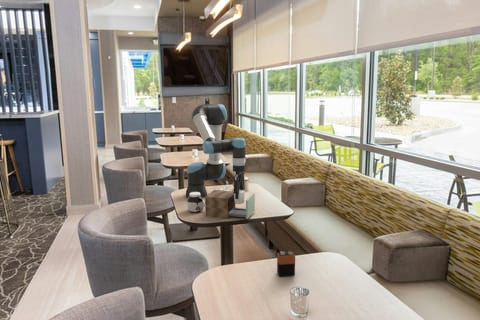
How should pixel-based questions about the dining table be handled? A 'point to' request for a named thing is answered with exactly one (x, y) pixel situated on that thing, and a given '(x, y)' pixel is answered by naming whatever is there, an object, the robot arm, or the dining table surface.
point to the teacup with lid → (245, 183)
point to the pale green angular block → (244, 212)
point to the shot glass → (241, 196)
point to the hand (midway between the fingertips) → (239, 202)
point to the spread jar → (195, 202)
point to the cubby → (219, 204)
